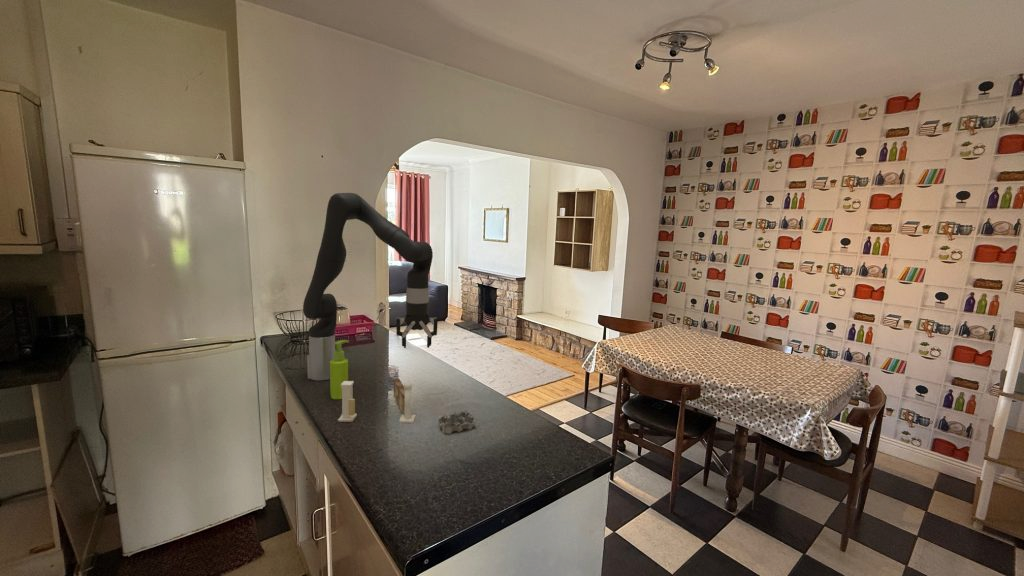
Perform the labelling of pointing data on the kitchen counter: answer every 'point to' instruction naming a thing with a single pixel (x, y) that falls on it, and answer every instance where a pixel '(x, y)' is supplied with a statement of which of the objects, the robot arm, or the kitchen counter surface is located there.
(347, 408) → the post
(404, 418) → the hinge post
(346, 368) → the soap dispenser
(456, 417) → the egg carton
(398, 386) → the gate
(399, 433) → the kitchen counter surface
